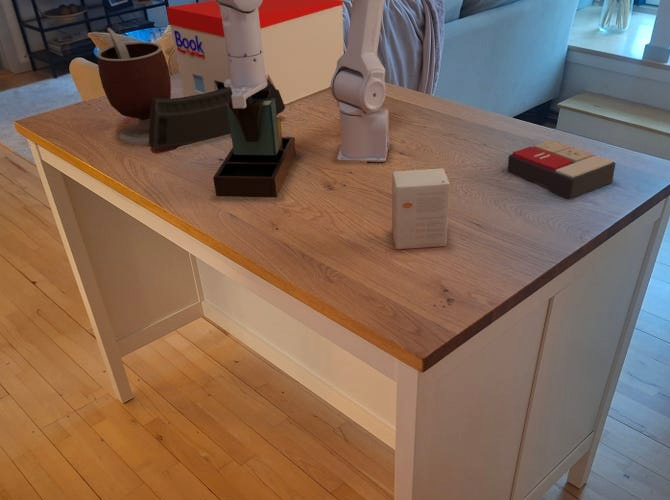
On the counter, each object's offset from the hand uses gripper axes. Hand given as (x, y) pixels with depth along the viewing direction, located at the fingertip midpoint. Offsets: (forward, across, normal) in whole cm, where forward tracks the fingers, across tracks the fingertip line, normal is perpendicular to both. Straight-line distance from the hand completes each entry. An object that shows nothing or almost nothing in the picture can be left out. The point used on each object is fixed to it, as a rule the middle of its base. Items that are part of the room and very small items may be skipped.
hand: (255, 136), depth 113 cm
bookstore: (+10, -54, -11) cm, 56 cm away
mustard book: (+9, -12, -2) cm, 15 cm away
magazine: (+10, -26, -15) cm, 31 cm away
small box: (+10, +16, +29) cm, 35 cm away
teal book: (+3, 0, 0) cm, 3 cm away
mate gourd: (+10, -27, -32) cm, 43 cm away
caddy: (+10, -6, -2) cm, 12 cm away
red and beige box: (+10, -8, +53) cm, 54 cm away
